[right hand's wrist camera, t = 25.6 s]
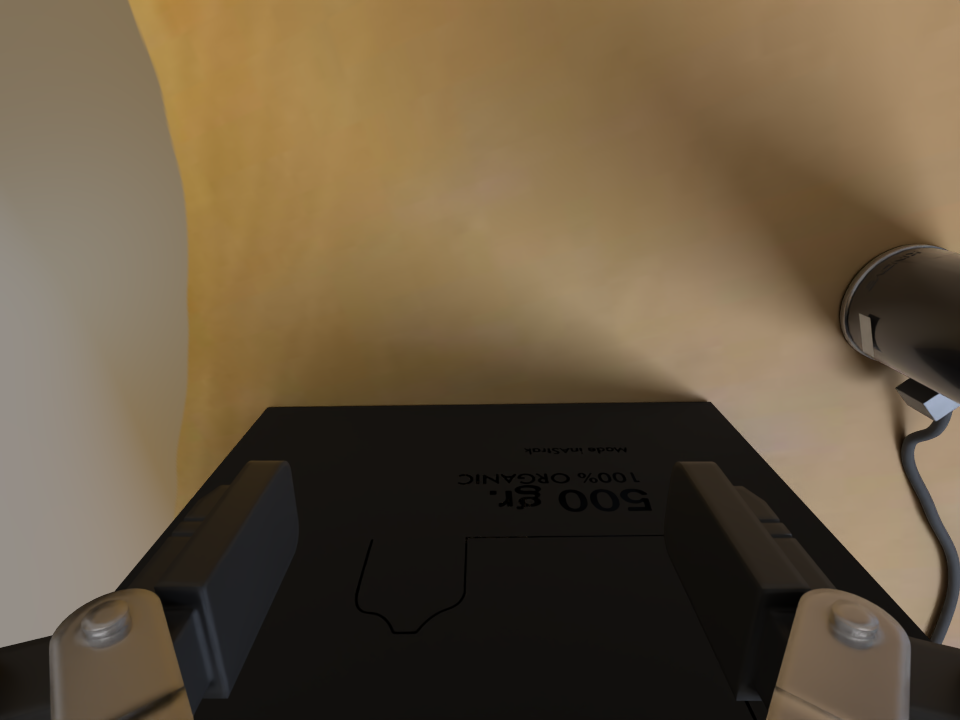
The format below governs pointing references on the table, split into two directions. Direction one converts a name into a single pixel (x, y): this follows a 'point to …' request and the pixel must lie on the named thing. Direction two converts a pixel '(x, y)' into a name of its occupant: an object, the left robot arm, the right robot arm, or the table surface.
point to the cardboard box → (496, 564)
